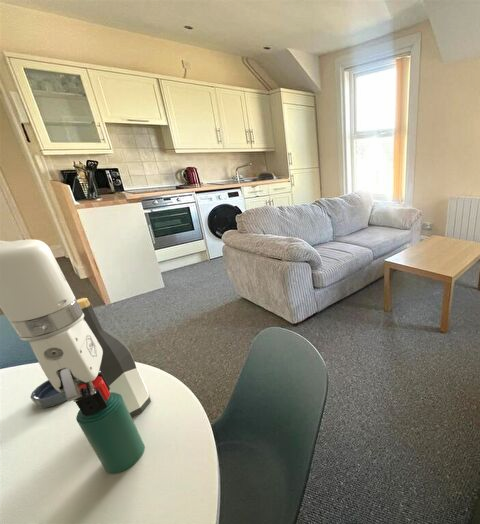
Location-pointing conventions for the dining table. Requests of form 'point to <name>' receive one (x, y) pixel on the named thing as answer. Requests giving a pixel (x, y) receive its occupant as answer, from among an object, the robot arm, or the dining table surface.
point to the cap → (99, 387)
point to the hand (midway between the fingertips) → (97, 401)
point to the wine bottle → (117, 364)
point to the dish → (47, 395)
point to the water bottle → (113, 435)
